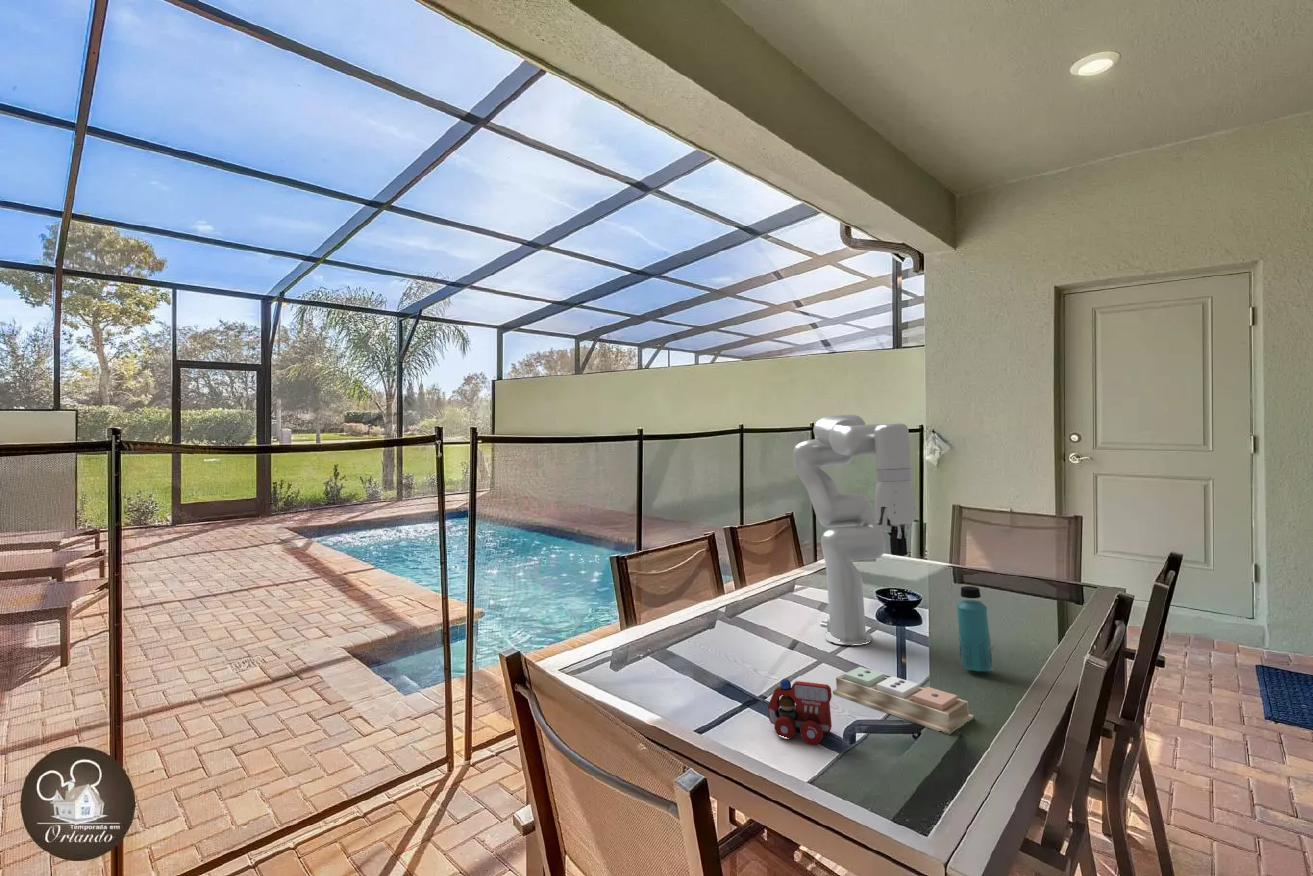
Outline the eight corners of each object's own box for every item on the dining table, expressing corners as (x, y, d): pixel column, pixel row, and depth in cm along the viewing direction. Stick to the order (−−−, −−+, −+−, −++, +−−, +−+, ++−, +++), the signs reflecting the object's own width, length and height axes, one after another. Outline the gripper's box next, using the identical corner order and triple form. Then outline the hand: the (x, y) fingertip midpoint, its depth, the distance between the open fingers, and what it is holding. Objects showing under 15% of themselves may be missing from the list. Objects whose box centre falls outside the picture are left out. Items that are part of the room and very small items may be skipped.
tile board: (832, 693, 130) (831, 678, 130) (858, 681, 135) (857, 666, 135) (949, 735, 109) (948, 716, 109) (973, 718, 115) (972, 701, 115)
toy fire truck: (776, 720, 119) (773, 669, 119) (838, 732, 113) (834, 678, 113) (765, 736, 113) (761, 682, 113) (829, 749, 106) (826, 692, 107)
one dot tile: (913, 713, 116) (912, 695, 116) (929, 704, 120) (927, 686, 120) (943, 723, 112) (941, 704, 112) (958, 713, 115) (957, 695, 115)
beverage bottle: (997, 678, 133) (991, 590, 133) (965, 677, 134) (959, 590, 134) (987, 667, 139) (981, 583, 139) (957, 667, 140) (951, 584, 141)
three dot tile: (877, 700, 123) (876, 683, 123) (893, 692, 126) (892, 675, 126) (904, 710, 118) (902, 692, 118) (919, 701, 121) (918, 683, 122)
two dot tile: (845, 689, 129) (844, 673, 129) (861, 682, 133) (860, 666, 133) (869, 698, 124) (868, 681, 124) (885, 689, 128) (883, 673, 128)
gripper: (897, 474, 144) (901, 548, 143) (861, 478, 135) (866, 558, 134) (926, 474, 138) (931, 551, 137) (890, 479, 129) (896, 562, 128)
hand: (899, 554), depth 136 cm, fingers closed
